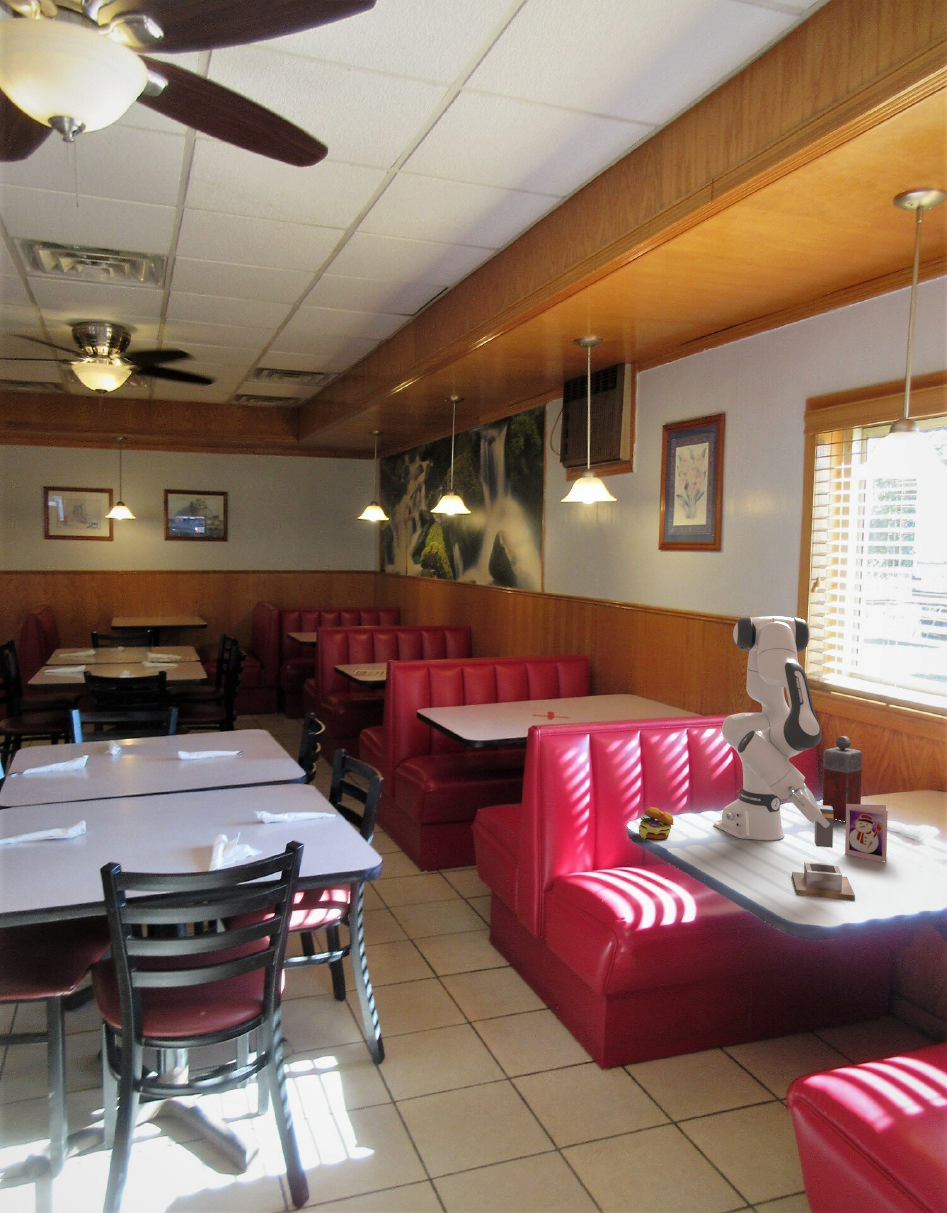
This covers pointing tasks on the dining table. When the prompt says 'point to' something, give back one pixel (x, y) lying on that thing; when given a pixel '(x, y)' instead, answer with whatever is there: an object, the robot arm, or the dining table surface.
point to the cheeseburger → (655, 824)
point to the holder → (822, 881)
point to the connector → (824, 834)
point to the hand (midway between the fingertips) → (826, 822)
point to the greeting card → (866, 831)
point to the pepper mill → (842, 777)
